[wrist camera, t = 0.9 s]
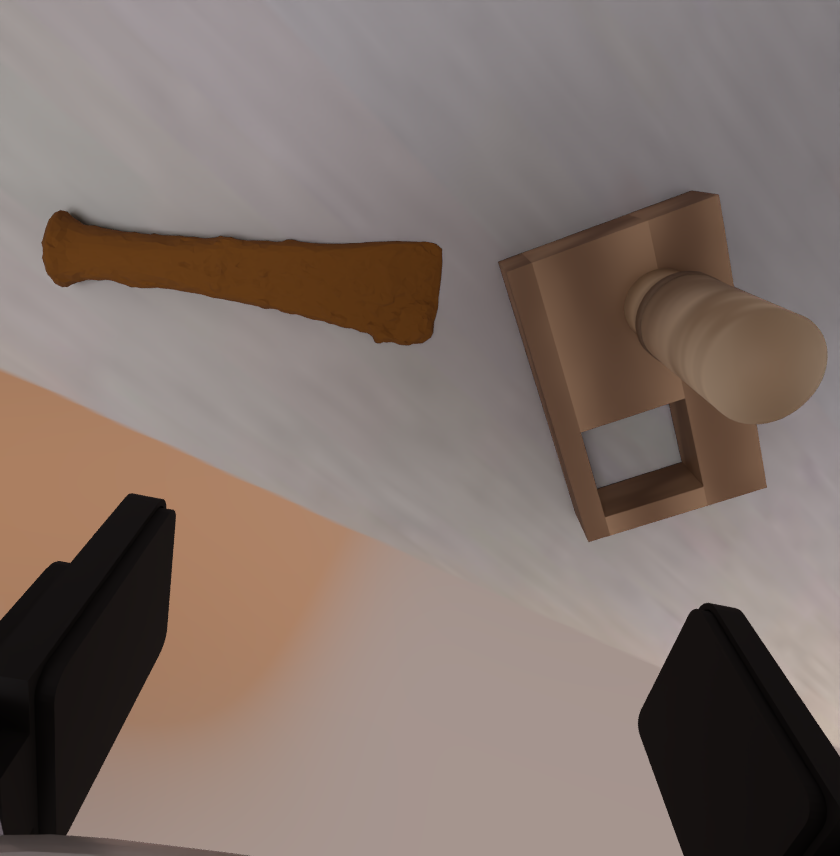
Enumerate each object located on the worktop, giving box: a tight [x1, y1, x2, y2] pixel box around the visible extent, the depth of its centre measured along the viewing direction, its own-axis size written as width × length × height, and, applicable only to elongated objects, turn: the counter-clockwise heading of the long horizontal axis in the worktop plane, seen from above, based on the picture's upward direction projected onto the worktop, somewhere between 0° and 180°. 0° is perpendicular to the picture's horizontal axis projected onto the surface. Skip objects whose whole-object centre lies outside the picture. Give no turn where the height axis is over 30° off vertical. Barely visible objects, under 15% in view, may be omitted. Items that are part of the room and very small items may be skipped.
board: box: [498, 191, 767, 542], centre depth 34 cm, size 10×16×3 cm, turn 20°
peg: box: [624, 268, 827, 424], centre depth 26 cm, size 4×4×10 cm
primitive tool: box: [41, 210, 442, 345], centre depth 32 cm, size 19×6×4 cm, turn 84°
